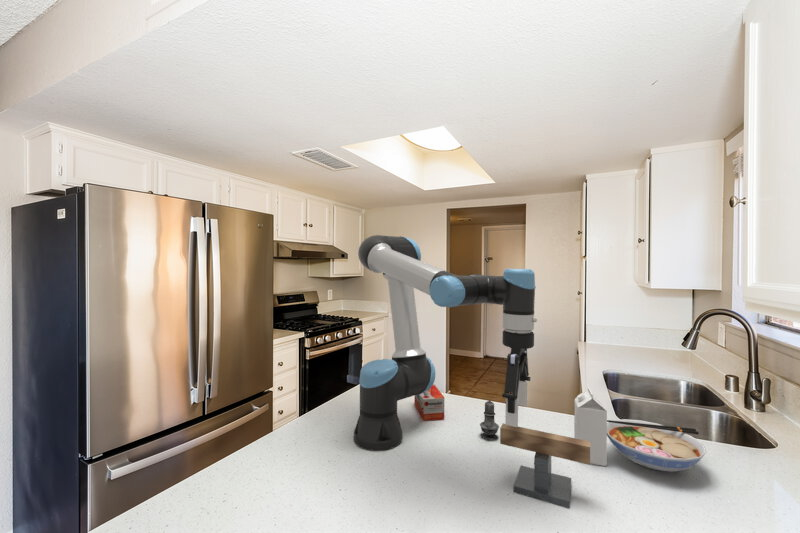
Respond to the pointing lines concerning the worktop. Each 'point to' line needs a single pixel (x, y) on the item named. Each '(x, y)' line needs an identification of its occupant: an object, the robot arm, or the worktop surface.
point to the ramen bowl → (656, 444)
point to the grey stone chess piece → (489, 423)
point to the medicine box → (430, 404)
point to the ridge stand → (543, 482)
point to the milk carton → (591, 425)
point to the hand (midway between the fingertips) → (516, 414)
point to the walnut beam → (546, 443)
